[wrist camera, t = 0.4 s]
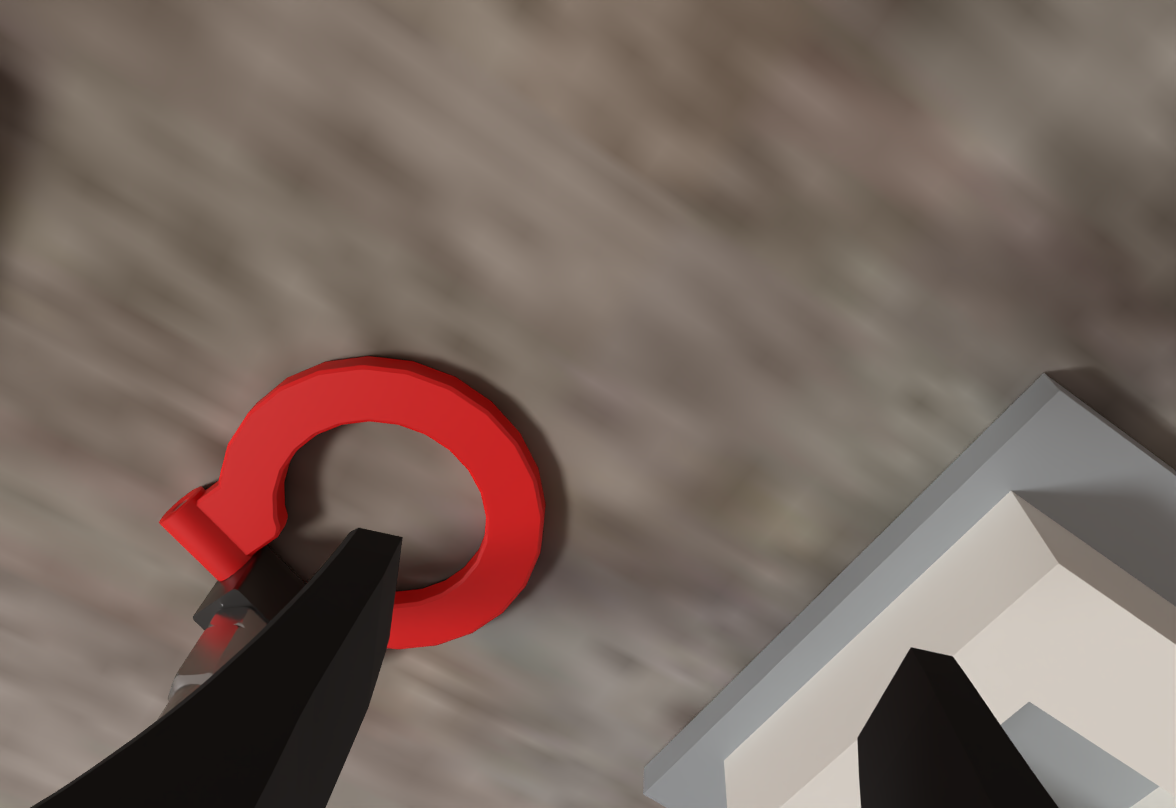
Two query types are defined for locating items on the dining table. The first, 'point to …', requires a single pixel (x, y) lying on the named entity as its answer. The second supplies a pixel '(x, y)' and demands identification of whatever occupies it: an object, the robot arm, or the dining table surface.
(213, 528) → the tow hook
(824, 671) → the slotted block
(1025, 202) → the dining table surface
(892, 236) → the dining table surface
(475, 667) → the dining table surface
